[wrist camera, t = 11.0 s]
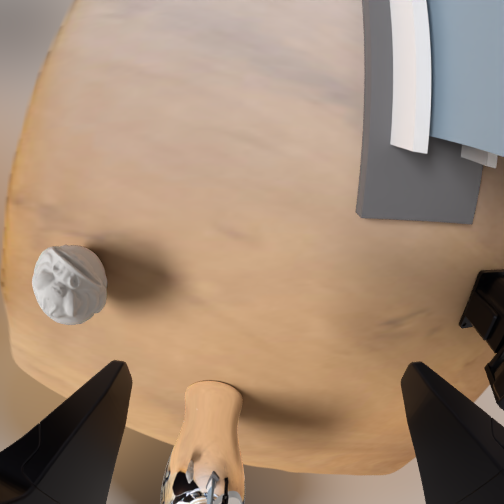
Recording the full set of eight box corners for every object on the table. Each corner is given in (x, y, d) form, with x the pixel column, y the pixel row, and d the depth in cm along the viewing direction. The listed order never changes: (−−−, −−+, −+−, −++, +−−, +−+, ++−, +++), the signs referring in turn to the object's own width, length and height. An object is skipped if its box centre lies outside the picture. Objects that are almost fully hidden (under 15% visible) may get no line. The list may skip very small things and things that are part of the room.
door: (452, -26, 10) (533, -57, 1) (461, 142, 16) (564, 179, 7) (405, -45, 10) (478, -98, 1) (414, 132, 16) (522, 163, 7)
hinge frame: (456, -58, 8) (481, -72, 4) (463, 218, 20) (494, 240, 16) (347, -97, 8) (362, -123, 5) (355, 212, 20) (377, 236, 16)
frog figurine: (139, 254, 21) (101, 310, 15) (103, 308, 24) (69, 363, 17) (78, 205, 20) (23, 245, 13) (51, 266, 22) (6, 312, 16)
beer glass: (257, 387, 28) (257, 530, 14) (234, 420, 31) (228, 539, 17) (189, 369, 27) (161, 517, 13) (175, 404, 30) (151, 526, 16)
